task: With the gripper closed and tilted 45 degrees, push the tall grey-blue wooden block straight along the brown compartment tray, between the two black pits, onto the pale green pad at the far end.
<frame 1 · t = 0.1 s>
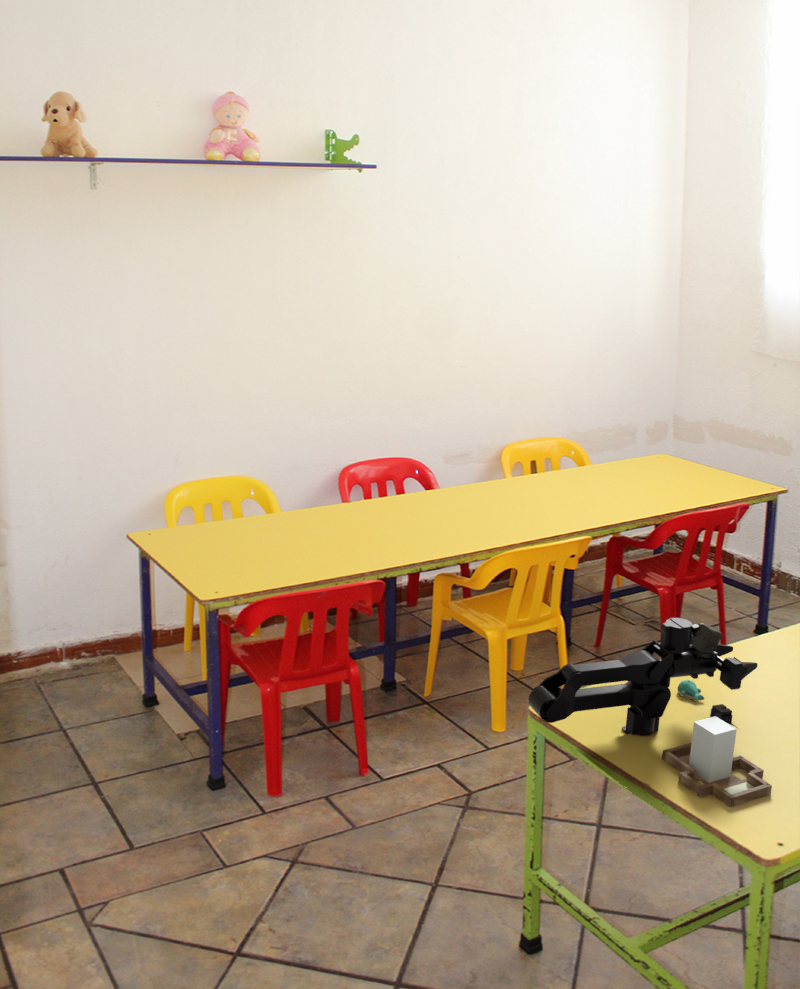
hand: (744, 656, 227), 17 cm above the table, tool horizontal, fingers open, 9 cm apart
block: (709, 772, 206), point 1 cm above the table, touching brown compartment tray
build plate: (719, 726, 230), on the table
whale figurine: (690, 698, 243), on the table
brown compartment tray: (713, 781, 205), on the table
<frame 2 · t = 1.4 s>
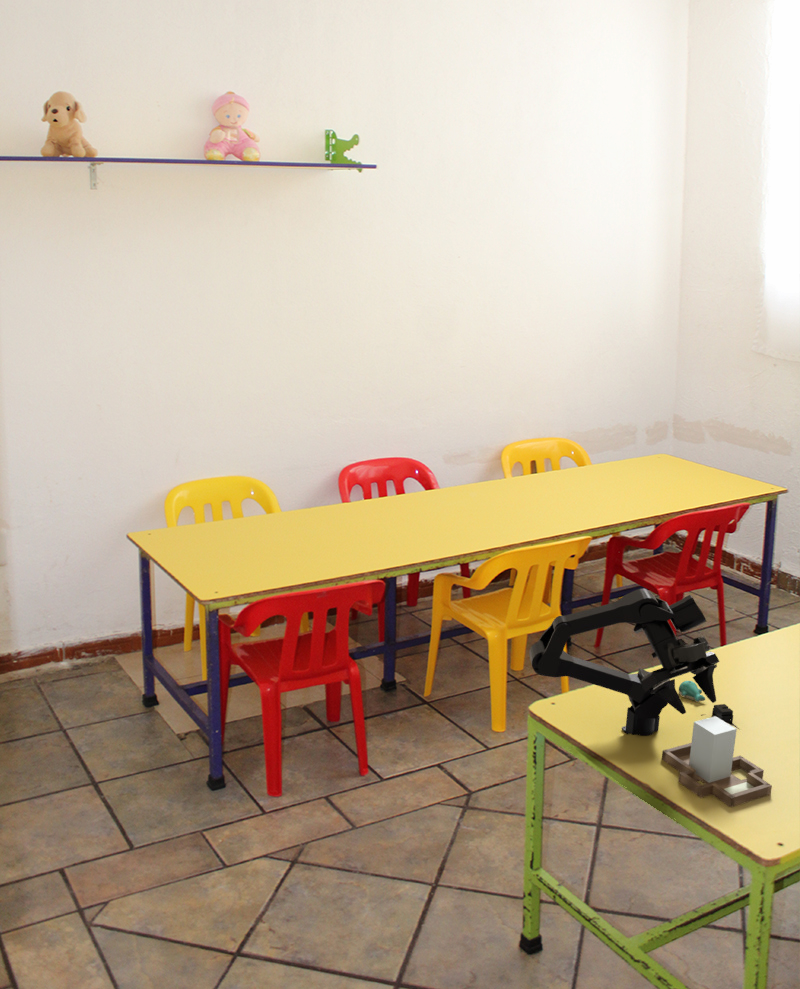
hand: (699, 707, 210), 13 cm above the table, tool tilted 45°, fingers open, 9 cm apart
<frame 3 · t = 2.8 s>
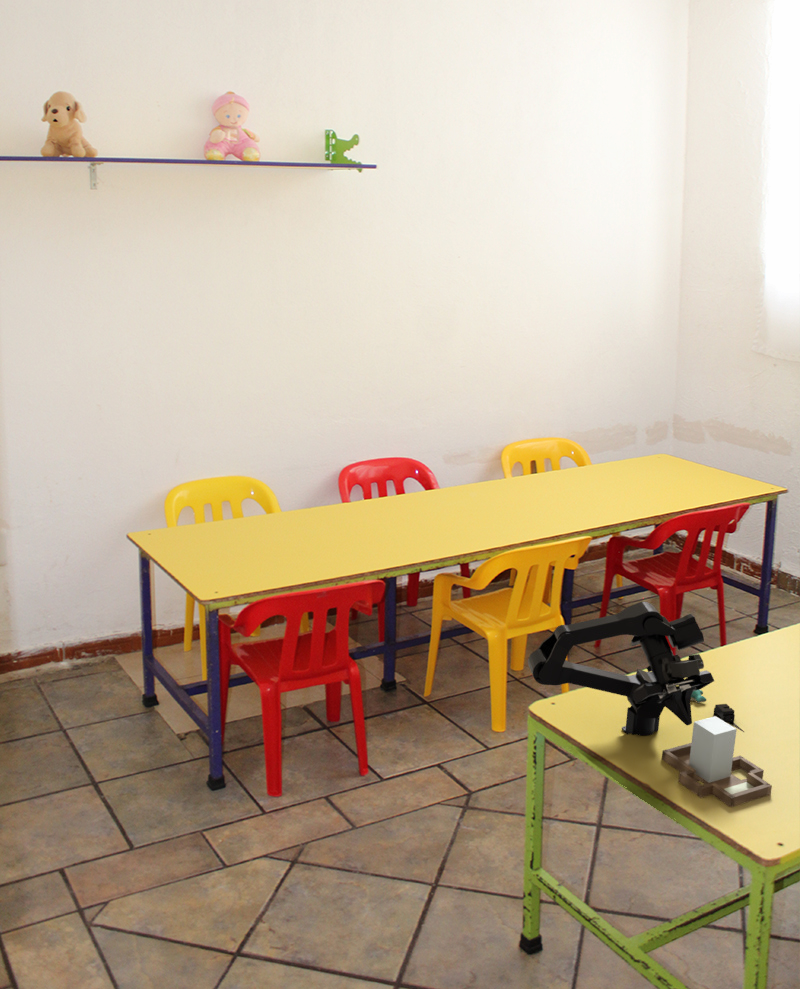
hand: (689, 724, 210), 9 cm above the table, tool tilted 45°, fingers closed
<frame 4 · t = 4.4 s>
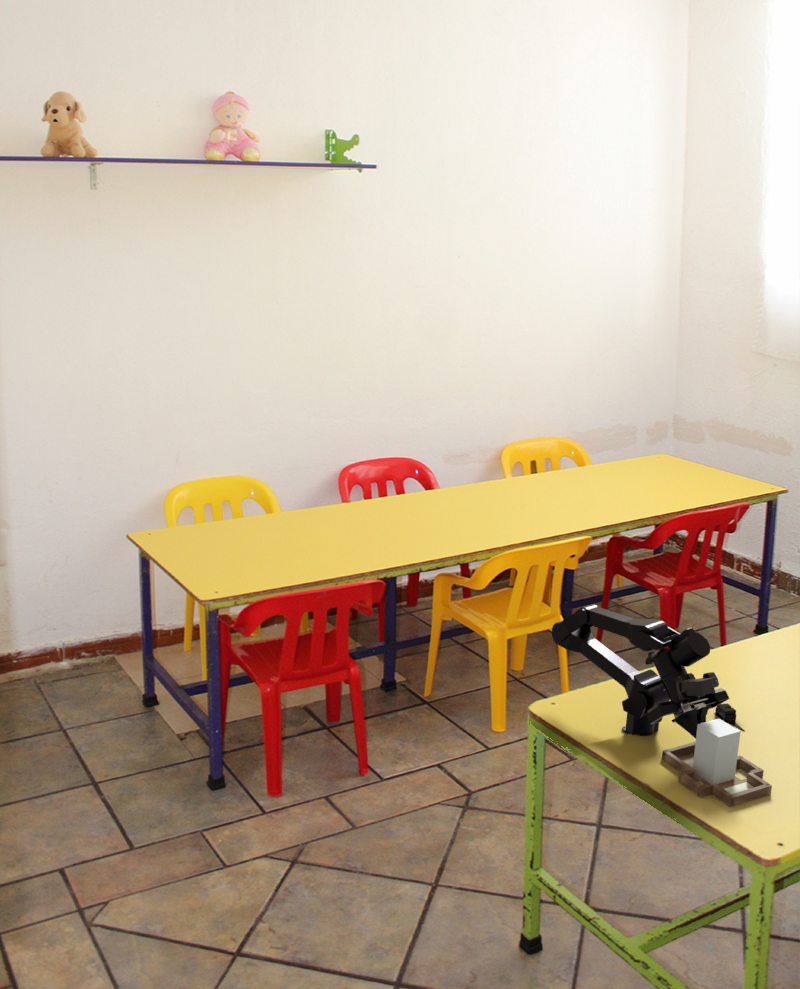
hand: (705, 744, 207), 7 cm above the table, tool tilted 45°, fingers closed
block: (713, 775, 205), point 1 cm above the table
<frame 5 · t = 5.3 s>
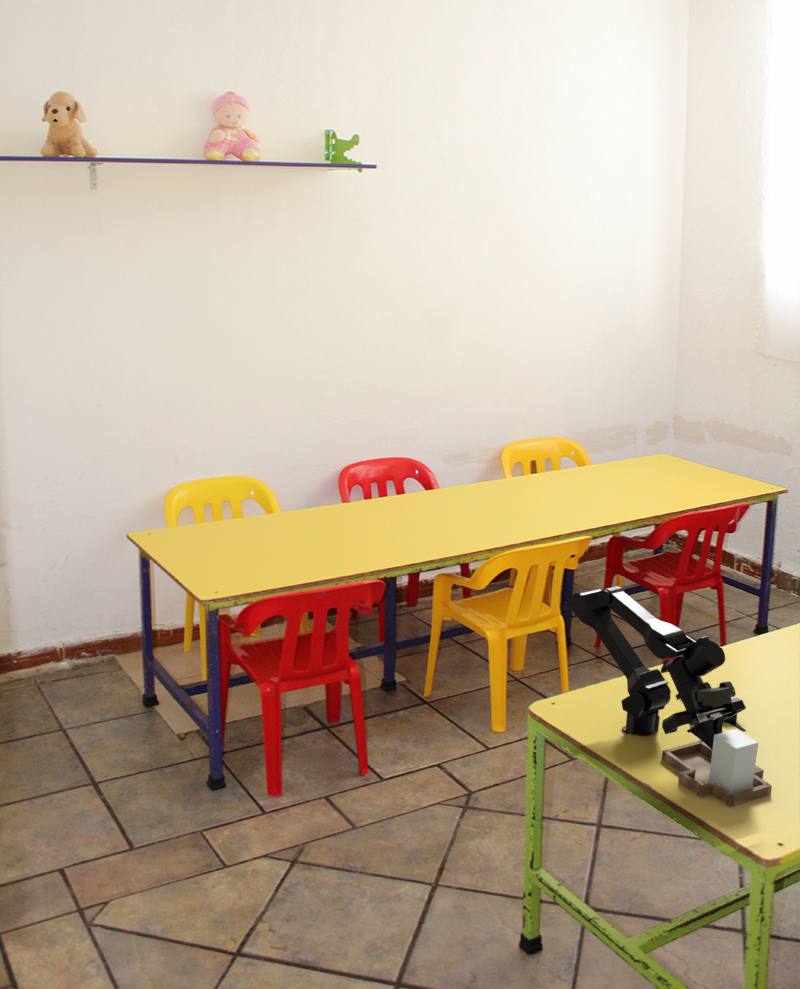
hand: (721, 754, 203), 7 cm above the table, tool tilted 45°, fingers closed
block: (729, 786, 201), point 1 cm above the table, touching gripper
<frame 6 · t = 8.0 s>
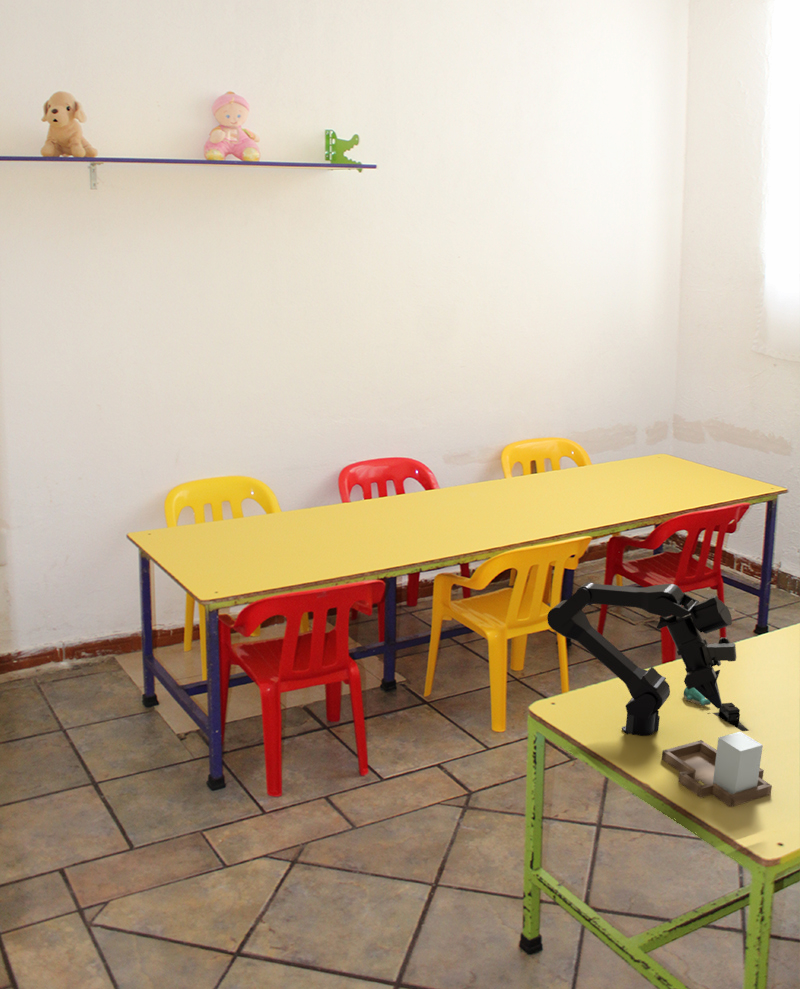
hand: (720, 707, 211), 12 cm above the table, tool tilted 35°, fingers closed
block: (734, 789, 200), point 1 cm above the table, touching brown compartment tray
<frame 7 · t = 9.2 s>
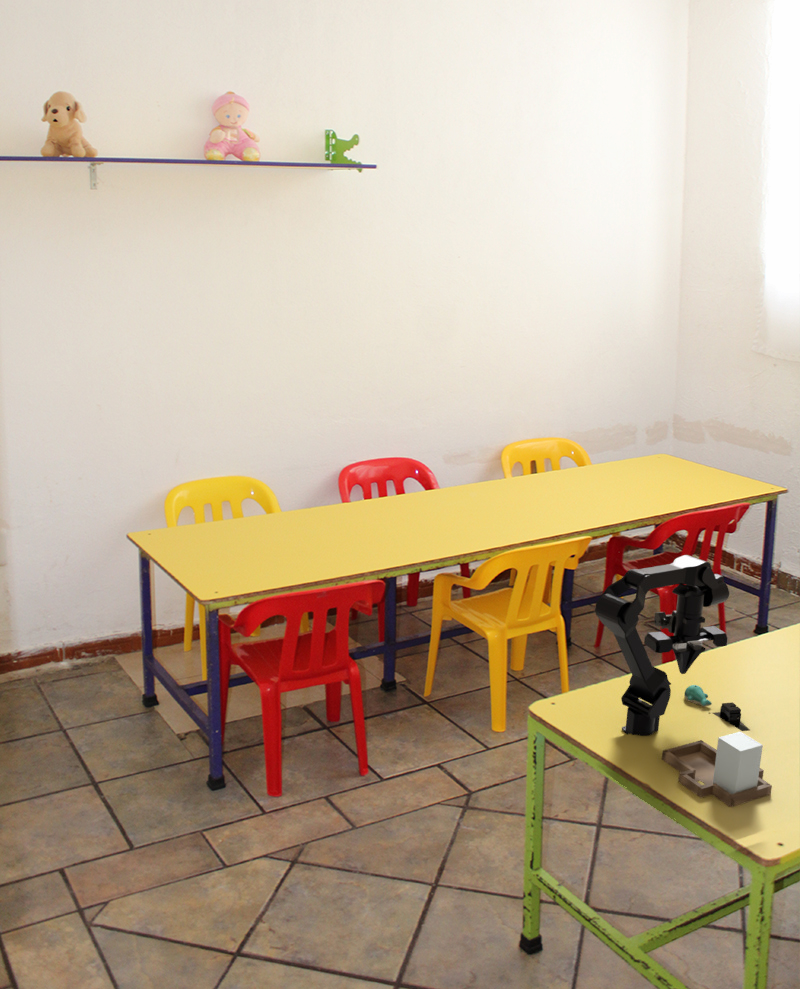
hand: (682, 673, 228), 12 cm above the table, tool pointing down, fingers closed
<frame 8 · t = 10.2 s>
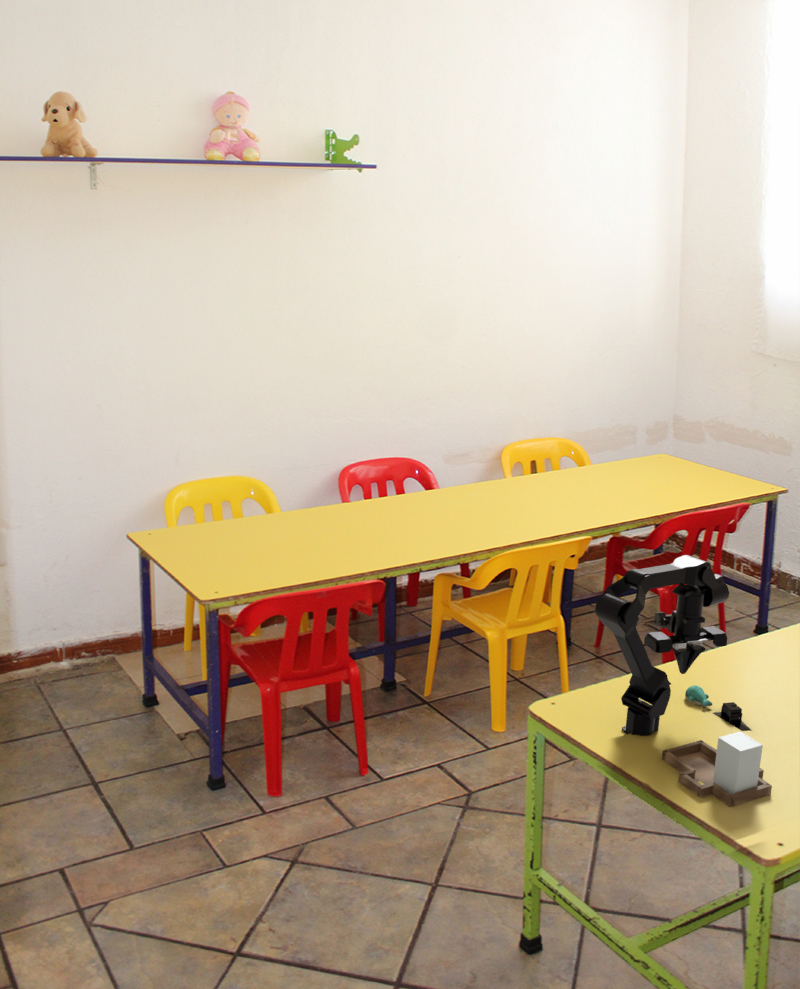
hand: (682, 673, 228), 12 cm above the table, tool pointing down, fingers closed
at the end: block 0.7 cm from the target spot, point 1.2 cm above the table; block tilted 0° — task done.
